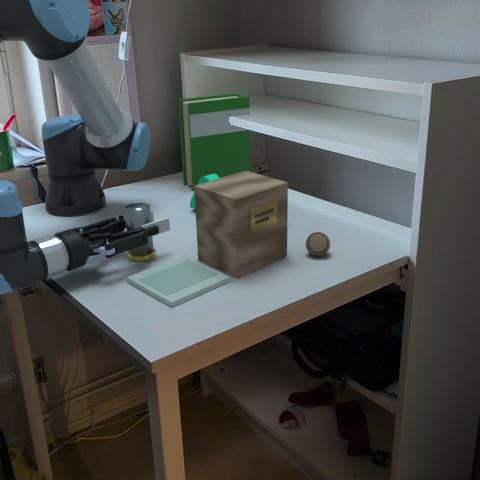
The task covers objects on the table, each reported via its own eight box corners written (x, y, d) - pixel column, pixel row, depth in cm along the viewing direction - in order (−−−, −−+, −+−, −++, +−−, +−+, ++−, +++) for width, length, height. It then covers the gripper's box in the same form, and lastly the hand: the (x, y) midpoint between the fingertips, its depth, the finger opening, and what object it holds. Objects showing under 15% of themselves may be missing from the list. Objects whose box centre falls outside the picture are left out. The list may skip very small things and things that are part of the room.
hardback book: (193, 191, 165) (189, 103, 156) (183, 184, 172) (178, 99, 162) (250, 181, 173) (249, 96, 163) (238, 175, 179) (237, 92, 169)
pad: (127, 282, 116) (126, 277, 116) (184, 259, 125) (184, 255, 124) (171, 307, 107) (171, 302, 106) (230, 281, 115) (230, 276, 115)
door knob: (300, 254, 126) (301, 232, 124) (318, 248, 129) (319, 226, 127) (316, 262, 123) (317, 239, 121) (334, 255, 125) (335, 233, 123)
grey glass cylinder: (122, 256, 127) (117, 206, 123) (145, 248, 131) (141, 200, 127) (138, 264, 123) (133, 213, 119) (161, 255, 127) (157, 206, 123)
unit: (198, 259, 125) (194, 185, 118) (246, 240, 133) (245, 170, 127) (239, 278, 116) (238, 200, 110) (289, 257, 125) (289, 183, 119)
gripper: (40, 257, 121) (137, 225, 135) (86, 286, 109) (187, 248, 123) (34, 222, 118) (134, 194, 132) (81, 248, 106) (185, 214, 120)
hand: (159, 220), depth 128 cm, fingers closed on grey glass cylinder, 5 cm apart
